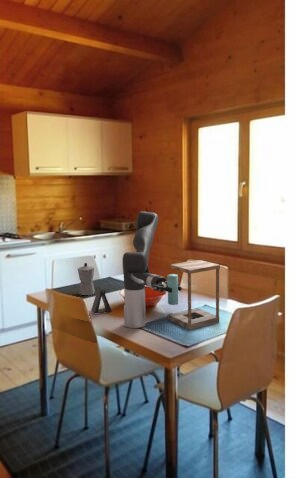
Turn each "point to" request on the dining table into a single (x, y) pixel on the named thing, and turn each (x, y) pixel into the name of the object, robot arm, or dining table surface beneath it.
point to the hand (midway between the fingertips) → (176, 289)
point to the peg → (173, 289)
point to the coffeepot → (86, 280)
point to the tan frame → (185, 316)
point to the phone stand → (97, 302)
